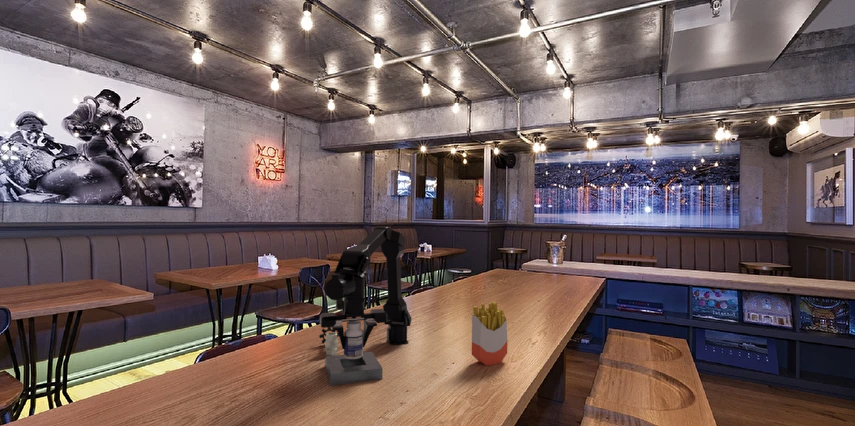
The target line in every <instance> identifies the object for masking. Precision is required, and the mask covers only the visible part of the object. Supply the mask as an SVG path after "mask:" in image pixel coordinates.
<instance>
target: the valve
mask: <svg viewBox="0 0 855 426" xmlns="http://www.w3.org/2000/svg"><path fill="white" fill-rule="evenodd" d="M326 328H327V329H325V328H321V332H322V333H321V334H319V335H318V337H319V338H320V339H322V340H321V344H322V345H323V344H324V348H325V355H326V356H335V355H338V349H337V348H338V346H339V342H338V338H339V335H338V332H337V330H333V329H332V327H326ZM326 332H327V333H326Z"/></svg>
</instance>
